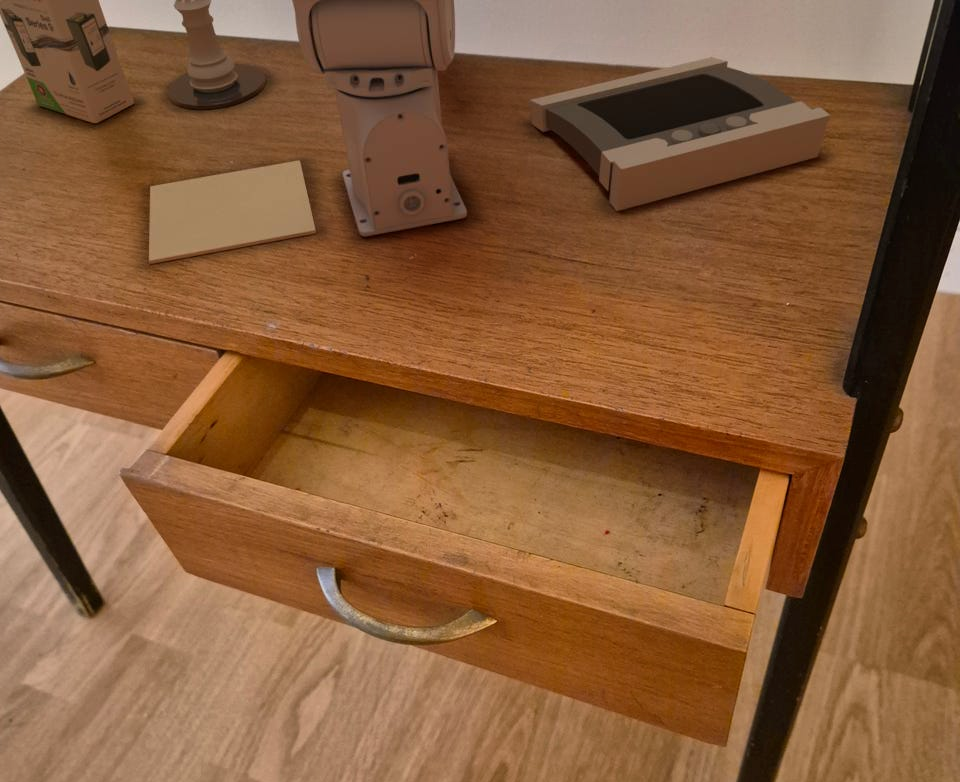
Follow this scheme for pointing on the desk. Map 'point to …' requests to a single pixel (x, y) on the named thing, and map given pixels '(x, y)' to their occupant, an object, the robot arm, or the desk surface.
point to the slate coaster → (243, 89)
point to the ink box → (68, 56)
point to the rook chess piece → (205, 49)
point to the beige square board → (228, 211)
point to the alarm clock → (681, 129)
